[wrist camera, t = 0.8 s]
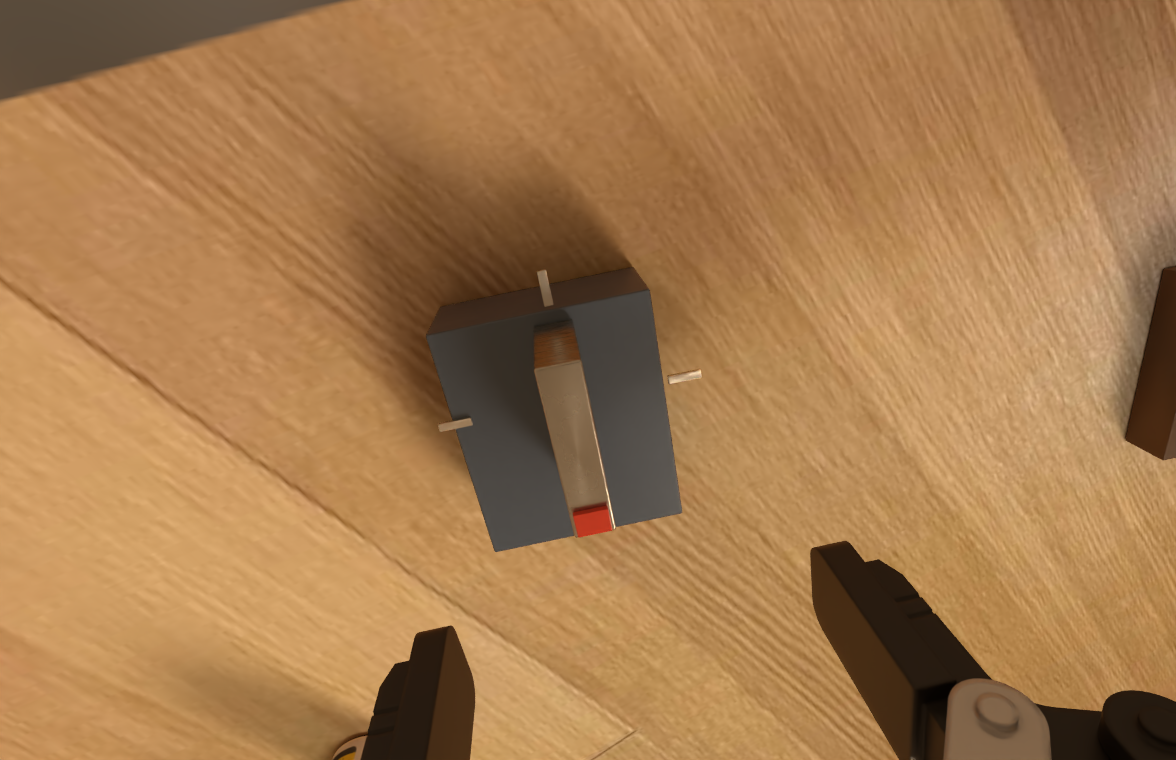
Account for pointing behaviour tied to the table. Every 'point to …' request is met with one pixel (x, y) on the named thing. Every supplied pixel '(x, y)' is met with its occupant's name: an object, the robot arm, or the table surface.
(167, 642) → the table surface
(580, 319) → the grey slotted base
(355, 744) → the supplement bottle
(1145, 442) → the button block
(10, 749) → the table surface
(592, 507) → the red-tipped tan bar
